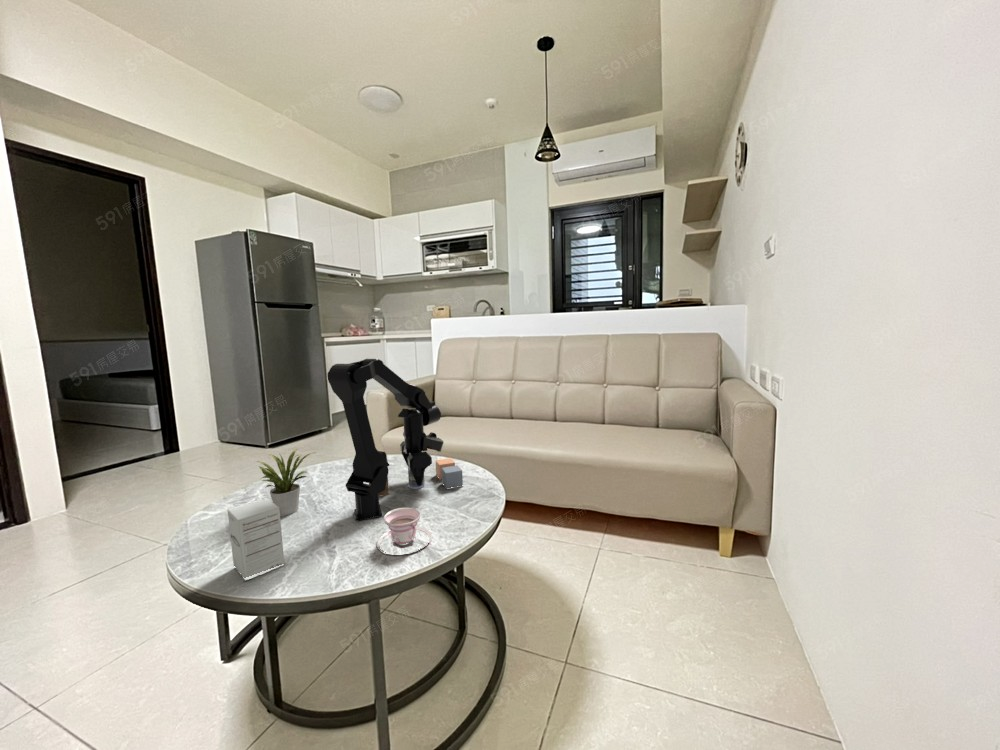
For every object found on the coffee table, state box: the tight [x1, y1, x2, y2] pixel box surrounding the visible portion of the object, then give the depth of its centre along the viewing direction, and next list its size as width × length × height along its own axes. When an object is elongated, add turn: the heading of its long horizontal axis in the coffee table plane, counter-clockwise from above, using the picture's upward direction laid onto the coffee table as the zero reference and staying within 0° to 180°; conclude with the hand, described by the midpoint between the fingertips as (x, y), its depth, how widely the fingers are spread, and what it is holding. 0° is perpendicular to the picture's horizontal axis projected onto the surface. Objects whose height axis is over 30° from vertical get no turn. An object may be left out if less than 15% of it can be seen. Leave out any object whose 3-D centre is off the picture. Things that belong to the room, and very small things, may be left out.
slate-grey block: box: [441, 464, 464, 490], centre depth 119 cm, size 5×5×5 cm
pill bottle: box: [407, 466, 426, 490], centre depth 119 cm, size 5×5×8 cm
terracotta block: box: [435, 457, 456, 481], centre depth 126 cm, size 5×5×5 cm
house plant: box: [256, 448, 317, 517], centre depth 105 cm, size 14×14×16 cm
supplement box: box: [227, 497, 285, 578], centre depth 79 cm, size 7×7×13 cm
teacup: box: [376, 507, 433, 553], centre depth 87 cm, size 12×12×6 cm
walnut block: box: [368, 477, 390, 497], centre depth 115 cm, size 5×5×5 cm
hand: (416, 480), depth 119 cm, fingers open, 9 cm apart
